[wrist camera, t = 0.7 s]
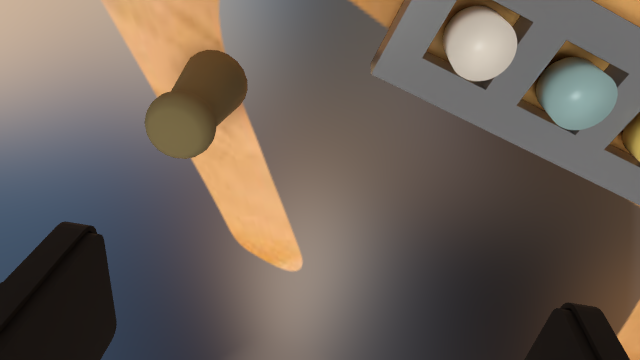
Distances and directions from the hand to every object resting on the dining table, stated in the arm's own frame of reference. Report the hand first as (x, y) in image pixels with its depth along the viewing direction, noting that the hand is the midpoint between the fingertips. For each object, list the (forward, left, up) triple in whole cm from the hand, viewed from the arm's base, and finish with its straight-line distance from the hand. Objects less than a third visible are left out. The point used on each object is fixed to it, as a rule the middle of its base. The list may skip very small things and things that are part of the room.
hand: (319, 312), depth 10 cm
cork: (+12, -9, -33) cm, 36 cm away
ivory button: (-2, +9, -31) cm, 32 cm away
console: (-2, +19, -33) cm, 38 cm away
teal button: (-2, +19, -31) cm, 36 cm away
